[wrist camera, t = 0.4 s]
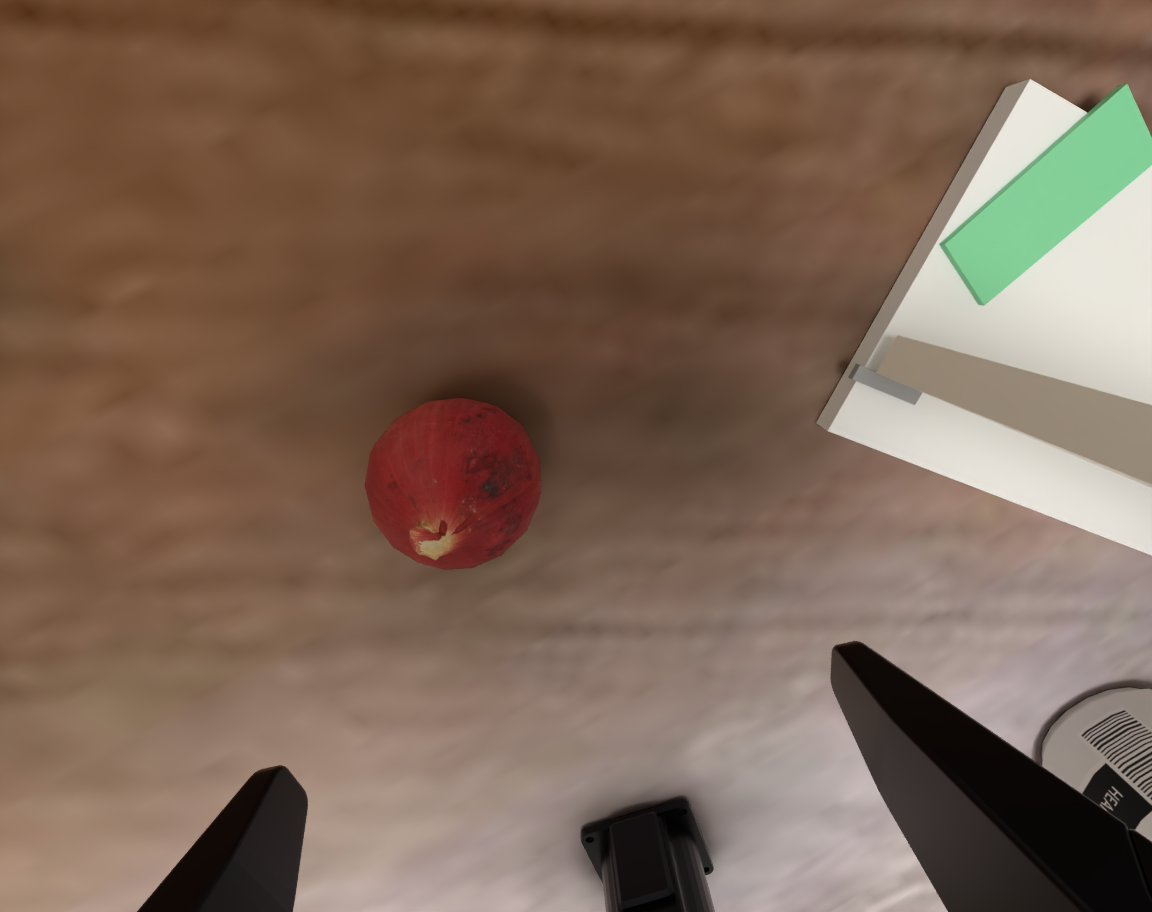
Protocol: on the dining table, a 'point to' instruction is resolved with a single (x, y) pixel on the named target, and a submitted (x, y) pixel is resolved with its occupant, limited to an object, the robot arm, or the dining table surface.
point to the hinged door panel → (1032, 405)
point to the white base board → (1025, 305)
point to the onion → (453, 483)
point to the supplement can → (1107, 753)
